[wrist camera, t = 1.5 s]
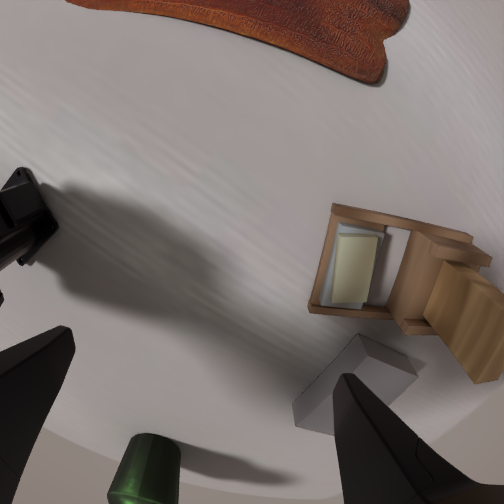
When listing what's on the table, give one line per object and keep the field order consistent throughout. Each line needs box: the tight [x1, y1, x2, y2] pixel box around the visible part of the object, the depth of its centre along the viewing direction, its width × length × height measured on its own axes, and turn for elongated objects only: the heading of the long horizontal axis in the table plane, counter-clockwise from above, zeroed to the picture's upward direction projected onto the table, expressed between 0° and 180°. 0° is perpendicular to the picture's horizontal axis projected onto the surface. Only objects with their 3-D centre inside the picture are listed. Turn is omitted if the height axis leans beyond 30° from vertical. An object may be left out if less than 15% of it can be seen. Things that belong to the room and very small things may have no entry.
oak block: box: [423, 260, 504, 384], centre depth 16 cm, size 2×5×8 cm, turn 172°
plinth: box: [292, 334, 418, 436], centre depth 25 cm, size 7×10×3 cm
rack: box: [308, 203, 492, 335], centre depth 20 cm, size 13×8×4 cm, turn 81°
